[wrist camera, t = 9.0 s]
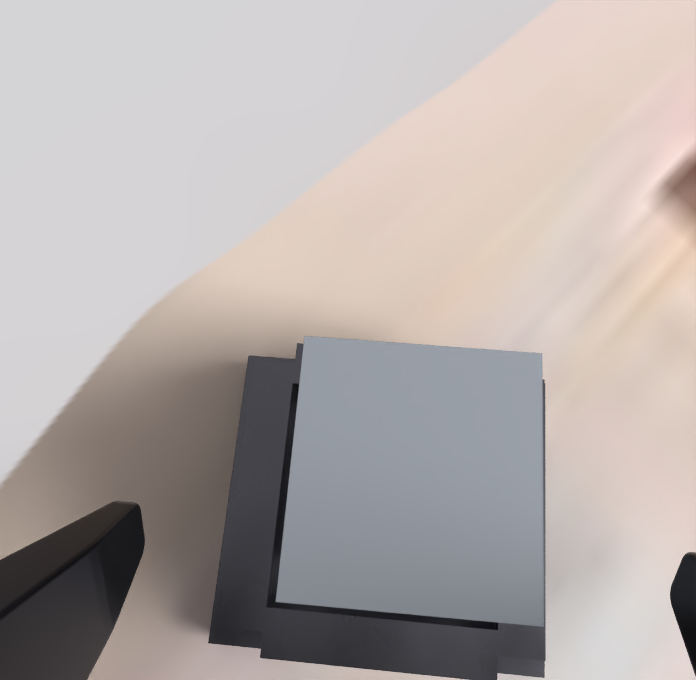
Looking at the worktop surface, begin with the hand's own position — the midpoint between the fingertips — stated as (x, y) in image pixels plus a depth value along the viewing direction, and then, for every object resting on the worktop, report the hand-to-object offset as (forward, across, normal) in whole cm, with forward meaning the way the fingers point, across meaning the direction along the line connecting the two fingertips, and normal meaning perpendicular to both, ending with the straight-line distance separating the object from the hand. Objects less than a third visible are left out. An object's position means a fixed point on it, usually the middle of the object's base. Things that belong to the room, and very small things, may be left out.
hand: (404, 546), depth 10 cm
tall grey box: (+8, 0, -6) cm, 10 cm away
